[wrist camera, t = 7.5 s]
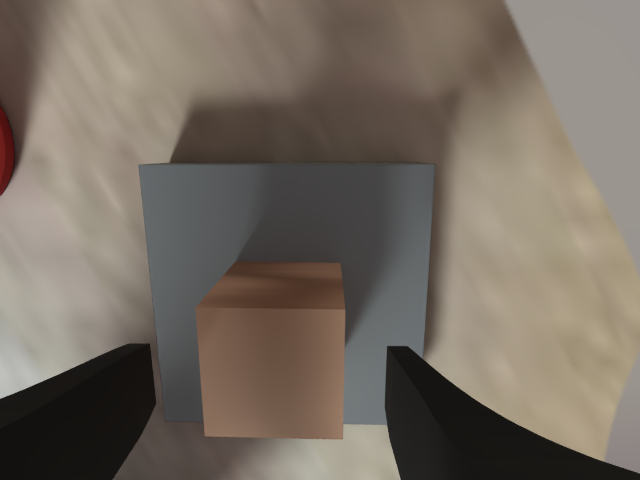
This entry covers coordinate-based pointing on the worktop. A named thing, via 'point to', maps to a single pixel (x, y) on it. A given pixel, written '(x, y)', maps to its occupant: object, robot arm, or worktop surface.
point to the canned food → (5, 151)
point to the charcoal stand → (290, 257)
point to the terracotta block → (273, 351)
